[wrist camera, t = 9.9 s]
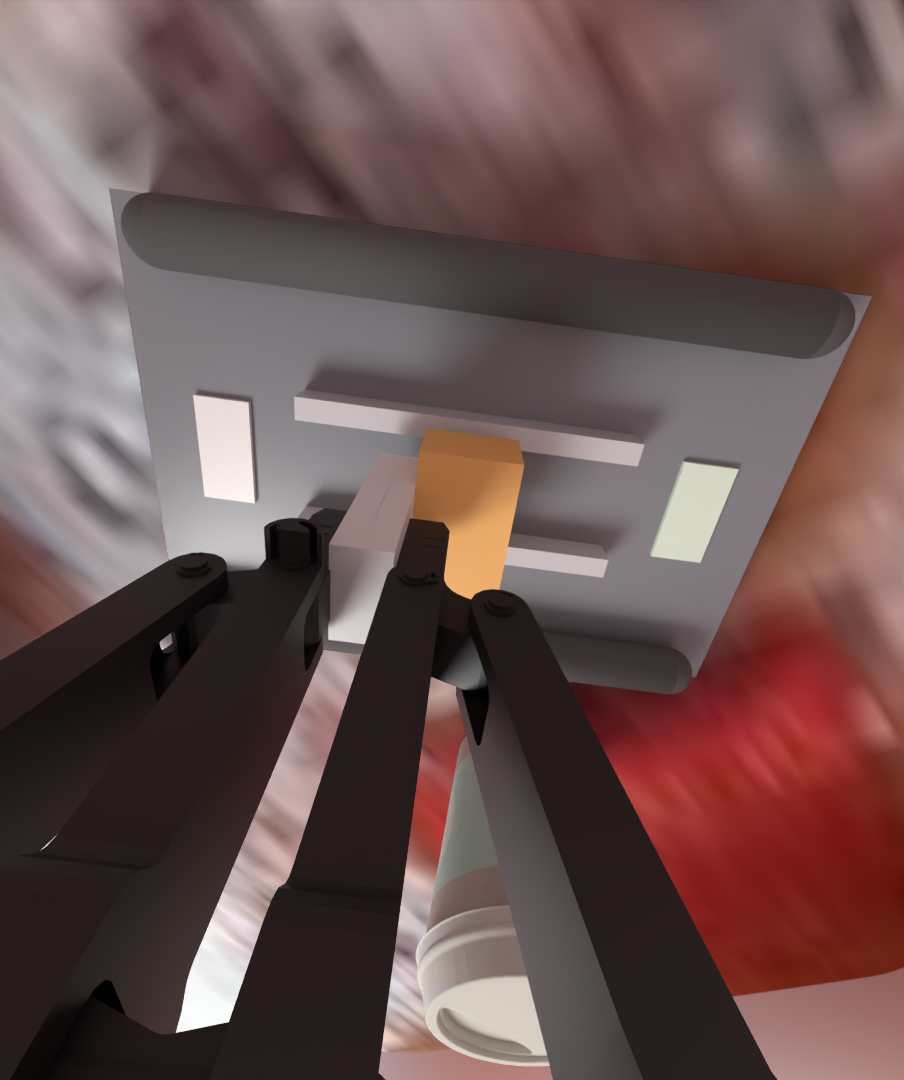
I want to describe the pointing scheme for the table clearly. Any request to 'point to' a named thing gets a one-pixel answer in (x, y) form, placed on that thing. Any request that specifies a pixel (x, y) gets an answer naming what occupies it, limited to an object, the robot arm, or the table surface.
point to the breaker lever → (470, 502)
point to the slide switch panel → (481, 409)
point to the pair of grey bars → (504, 291)
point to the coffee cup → (475, 943)
